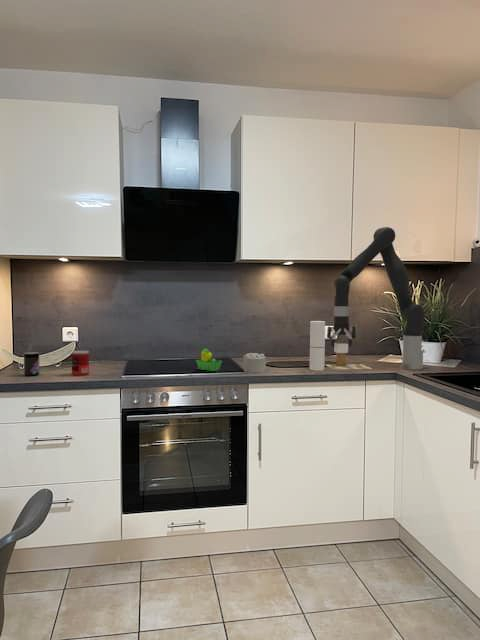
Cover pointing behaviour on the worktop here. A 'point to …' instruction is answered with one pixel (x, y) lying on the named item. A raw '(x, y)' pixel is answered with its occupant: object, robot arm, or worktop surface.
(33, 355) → the supplement container
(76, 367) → the canned food
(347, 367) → the board
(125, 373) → the worktop surface
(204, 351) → the fruit basket
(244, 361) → the lumpy-topped squat cylinder
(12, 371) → the worktop surface
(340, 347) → the white minus sign cube
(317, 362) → the cylindrical container
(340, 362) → the bottle
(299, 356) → the worktop surface
